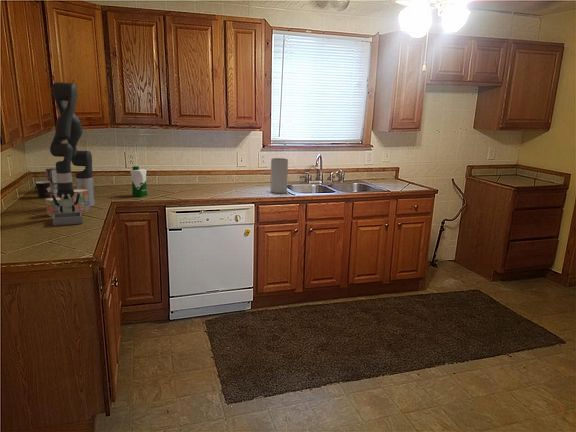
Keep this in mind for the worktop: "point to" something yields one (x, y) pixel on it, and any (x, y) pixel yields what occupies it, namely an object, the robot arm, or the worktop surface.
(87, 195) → the stack of blocks
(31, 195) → the worktop surface
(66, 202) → the sage block
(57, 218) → the bin
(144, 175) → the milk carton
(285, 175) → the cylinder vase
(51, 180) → the coffee box
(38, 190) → the coffee mug
